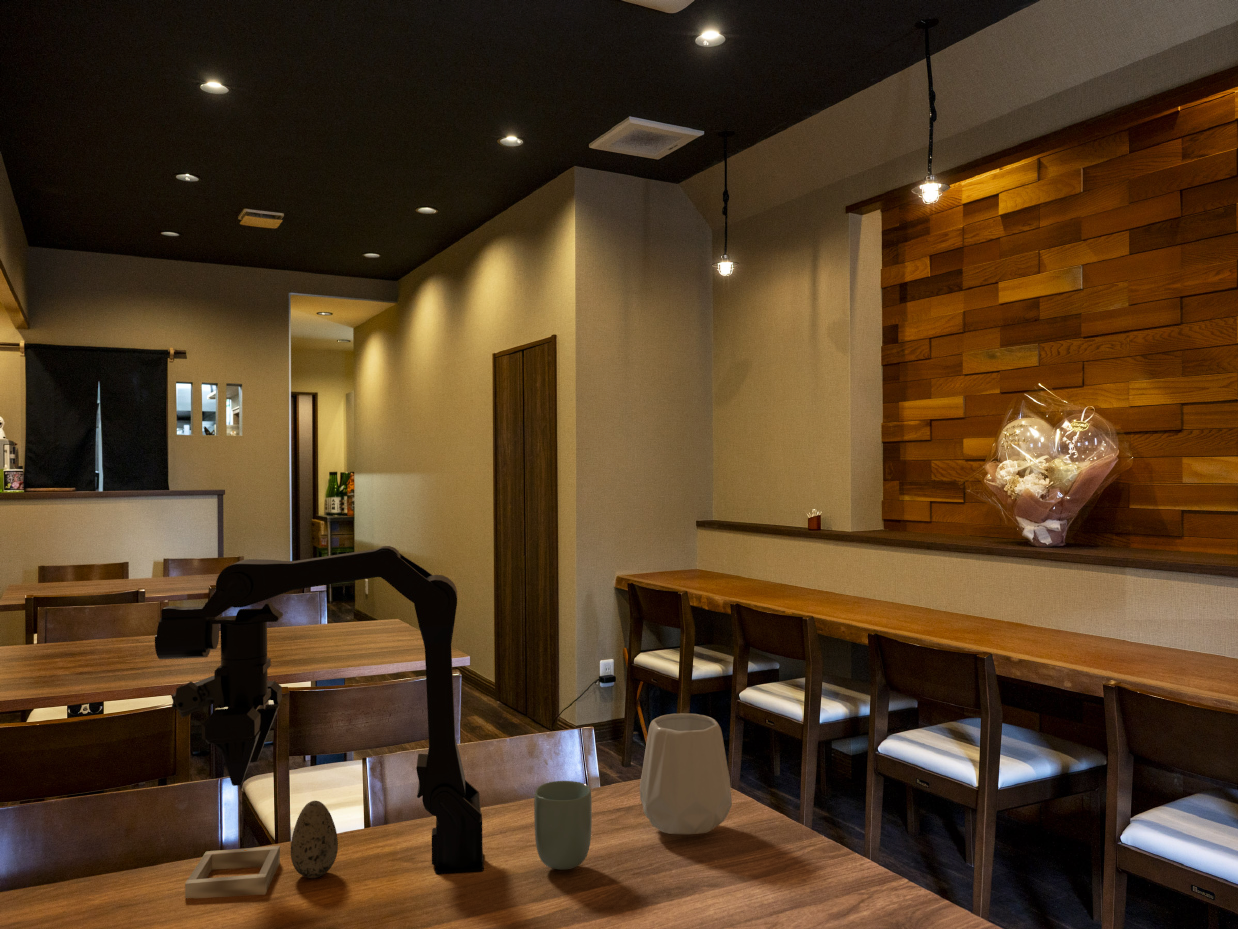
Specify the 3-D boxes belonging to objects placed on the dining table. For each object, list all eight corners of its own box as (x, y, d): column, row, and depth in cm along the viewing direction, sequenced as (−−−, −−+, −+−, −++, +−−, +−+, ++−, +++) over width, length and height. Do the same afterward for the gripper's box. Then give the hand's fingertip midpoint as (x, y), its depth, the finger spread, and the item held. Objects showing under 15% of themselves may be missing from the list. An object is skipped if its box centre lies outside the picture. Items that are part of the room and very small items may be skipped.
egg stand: (279, 864, 123) (279, 845, 123) (265, 896, 114) (265, 877, 114) (206, 870, 121) (206, 851, 121) (185, 903, 112) (185, 883, 112)
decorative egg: (347, 874, 120) (346, 799, 120) (307, 891, 115) (307, 813, 115) (321, 862, 123) (321, 789, 124) (281, 878, 119) (281, 802, 119)
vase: (671, 797, 147) (670, 704, 147) (748, 816, 139) (747, 718, 139) (620, 825, 136) (620, 725, 136) (701, 848, 127) (701, 741, 127)
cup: (584, 879, 118) (583, 803, 118) (527, 874, 120) (527, 799, 120) (597, 853, 126) (597, 782, 126) (544, 849, 127) (543, 778, 127)
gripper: (199, 644, 127) (200, 755, 127) (155, 674, 109) (157, 804, 109) (282, 641, 129) (283, 749, 129) (253, 670, 111) (254, 797, 111)
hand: (245, 773), depth 119 cm, fingers open, 9 cm apart
